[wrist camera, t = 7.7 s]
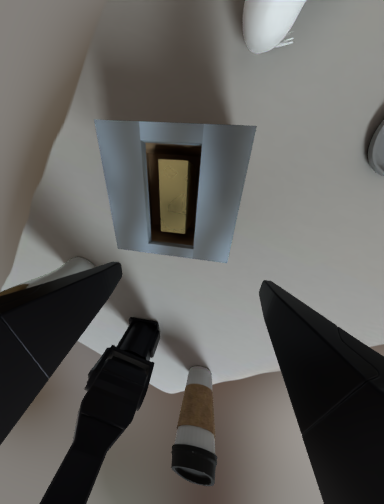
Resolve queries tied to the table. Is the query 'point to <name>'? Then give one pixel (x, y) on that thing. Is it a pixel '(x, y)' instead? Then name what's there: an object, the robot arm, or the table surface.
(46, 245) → the table surface
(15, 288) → the beer glass
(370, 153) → the pocket watch
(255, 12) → the white animal skull
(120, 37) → the table surface
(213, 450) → the coffee cup
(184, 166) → the block
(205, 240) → the box
